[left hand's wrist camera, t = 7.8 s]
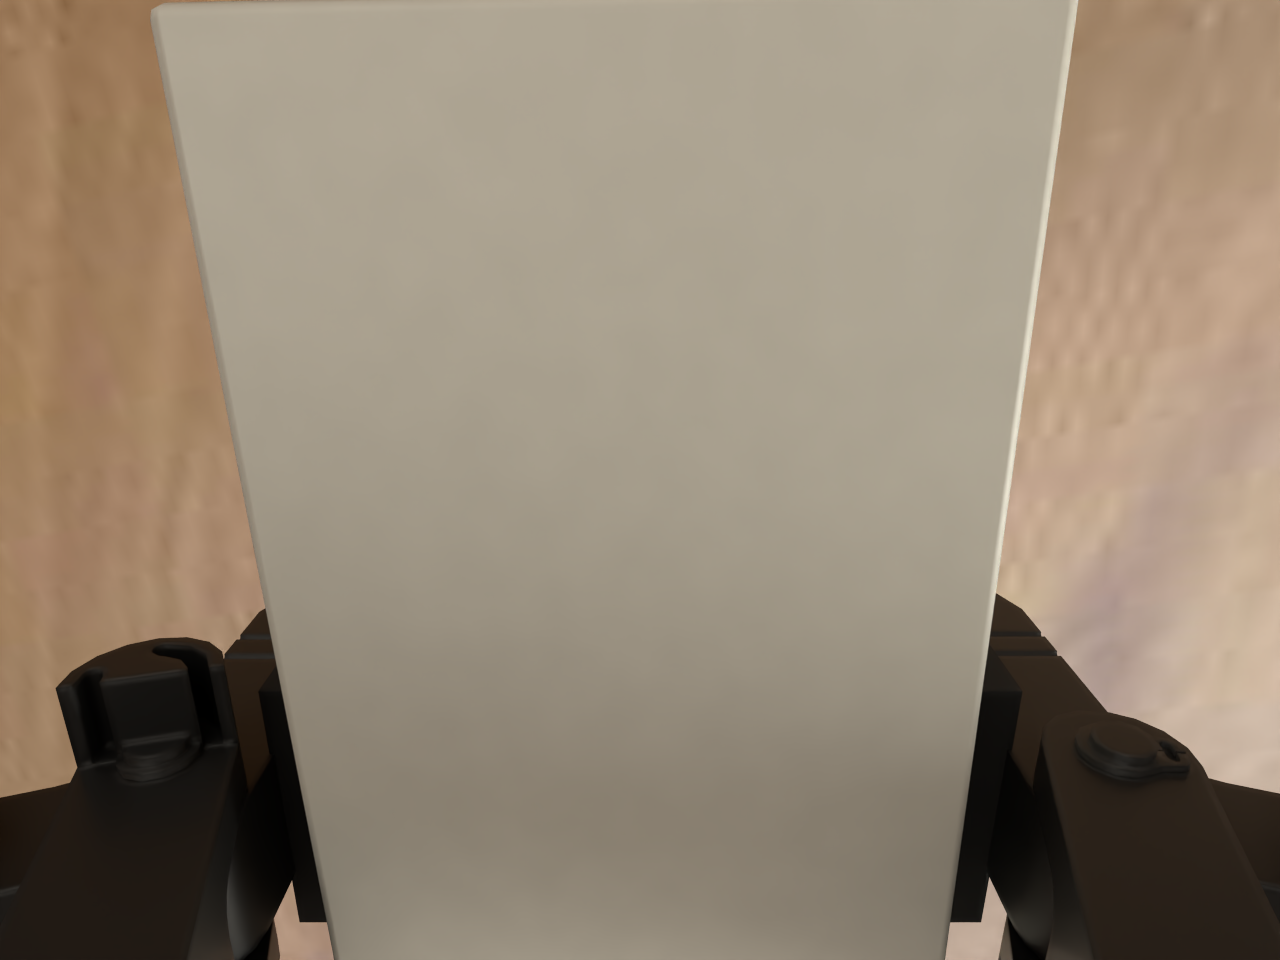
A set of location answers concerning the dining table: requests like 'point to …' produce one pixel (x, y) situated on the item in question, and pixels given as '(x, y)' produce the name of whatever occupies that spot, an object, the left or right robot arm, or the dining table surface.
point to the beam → (625, 446)
